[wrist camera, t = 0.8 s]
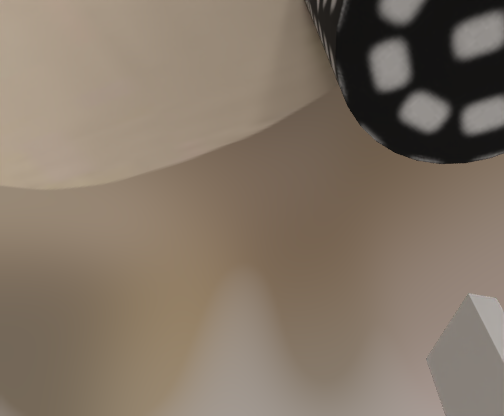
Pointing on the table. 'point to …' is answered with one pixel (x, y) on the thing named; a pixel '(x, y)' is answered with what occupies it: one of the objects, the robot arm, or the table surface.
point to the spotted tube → (420, 73)
